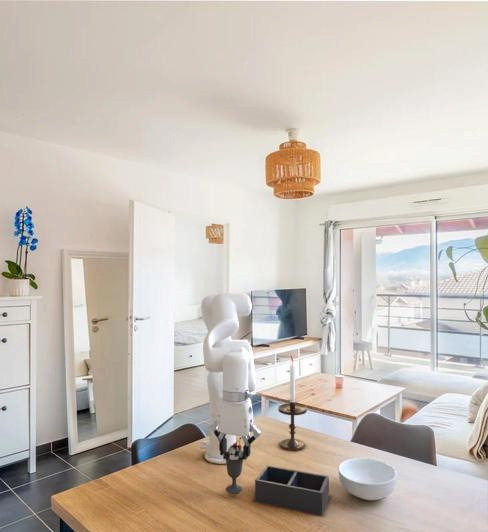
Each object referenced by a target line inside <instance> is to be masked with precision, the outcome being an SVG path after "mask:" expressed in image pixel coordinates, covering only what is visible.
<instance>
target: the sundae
mask: <svg viewBox="0 0 488 532" xmlns="http://www.w3.org/2000/svg"><path fill="white" fill-rule="evenodd" d="M242 439H243V438H242V436H239V438H238V440H236V443H234V444H233V445H232V446H230V447H229V449H228V451H227V452H226V450H225V453H224V455H223V459H226V464H225V465H226V472H227V475H228V476H229V478H231V480H232V482H231V484H229V485H227V487H226V488H225V491H226V493H228V494H230V495H238V494H240V493H241V492H242V491H243V486H241V485H239V484H237V478H239V477H240V476H241V475H242V471H243V470H242V469H243V464H244V459H243V446H242V445H241V440H242ZM238 442H239V443H238Z"/></svg>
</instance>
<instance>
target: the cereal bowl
mask: <svg viewBox="0 0 488 532" xmlns="http://www.w3.org/2000/svg"><path fill="white" fill-rule="evenodd" d="M397 476H398V475H397V471H396V469H395V468H394V467H393V466H391V464H389V463H387V462H384V461H382V460H379V459H375V458H370V457H369V458H368V457H352V458H348V459H345V460H344V461H342V462H341V463H340V464H339V466H338V478H339V482H340V484H341V486H342V487H343V488H344V490H345V491H346V492H348V493H349V494H351V496H352V495H353V497H354V496H355V497H357V498H359V499H361V500H364V501H378V500H380V499H384V498H387V497H388V496H390V495H391V494H392V493H393V492H394V491H395V489H396V487H397V483H398V482H397V481H398V477H397Z"/></svg>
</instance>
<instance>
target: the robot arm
mask: <svg viewBox="0 0 488 532" xmlns="http://www.w3.org/2000/svg"><path fill="white" fill-rule="evenodd" d="M252 307H253V306H252V300H251V298H250V296H249V294H247V293H245V292H244V293H243V292H224V293H223V292H222V293H218V294H212V295H208V296H205V297H203V298H202V300H201V304H200V309H201V316H202V319H203V322H204V324H205V328H206V330H207V333H206V334H205V336H204V340H203V343H202V354H203V364H204V367H205V369H206V371H207V372H208V374H207V377H206V382H207V383H206V384H207V391H208V400H209V401H208V403H209V417H208V418H209V430H208V431H209V433H208V435H209V436H208V437H209V440H208V441H207V440H201V441H200V442H199V443H200V445H199V448H200V449H202V450H205V453H204V458H205V460H206V461H207V462H209V463H212V464H215V465H216V464H217V465H224V464H225V465H226V459H223V455H224V453H225V450H226V452H227V451H228V449H229V447H230V446H232V445H233V444H234V443H236V442H237V437H242V438H241V439H242V441H243V443H244V444H243V446H242V450H243V461H246V460H247V459H248V458H249V457H250V456H251V447H252V446H251V444H252V443H253V442H254V441H255V440H257V438H258V437H260V435H261V434H262V432H261V431H260V429H259V428H258V427H257V426H256V425H255V424H254V412H253V411H254V410H253V404H252V399H251V398H253V392H254V391H255V389H256V386H257V385H256V384H257V379H256V378H257V377H256V369H255V363H254V356H253V348H252V346H251V344H250V342H249V341H248V340H246V339H232V337H233V336H234V335H235V334H236V333H237V332H238V331H239V328H240V324H239V319H238V317H248V316H250V314H251V312H252ZM250 433H253V435H252V436H251V434H250Z"/></svg>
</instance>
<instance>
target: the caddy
mask: <svg viewBox="0 0 488 532" xmlns="http://www.w3.org/2000/svg"><path fill="white" fill-rule="evenodd" d="M329 497H330V476H329V475H325V474H319V473H313V472H307V471H302V470H297V469H292V468H287V467H286V468H285V467H281V466H280V467H279V466H273V465H268V464H266V465H265V466H264V468H263V469H262V470H261V472H260V473H259V475H258V476H257V477H256V479H254V502H256V503H261V504H265V505H270V506H275V507H279V508H284V509H289V510H293V511H299V512H302V513H303V512H304V513H307V514H311V515H312V514H313V515H317V516H322V517H323V515H324V511H325V509H326V507H327V504H328V501H329Z"/></svg>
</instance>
